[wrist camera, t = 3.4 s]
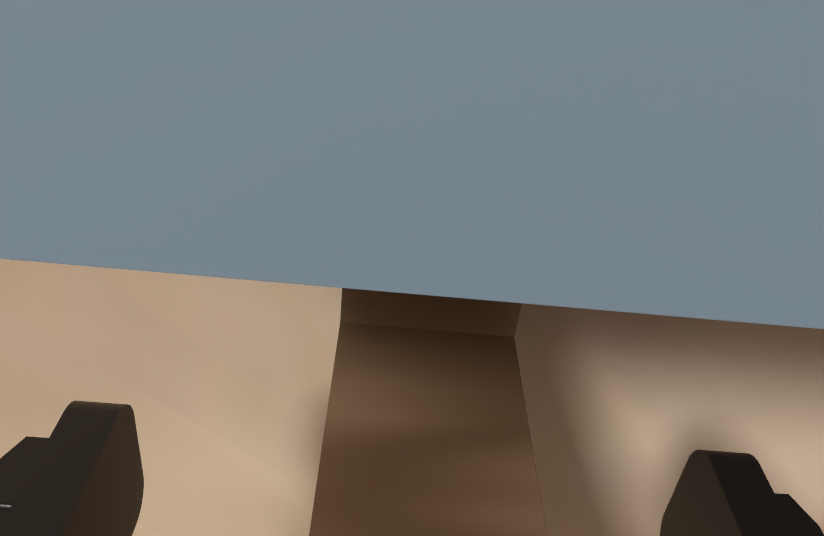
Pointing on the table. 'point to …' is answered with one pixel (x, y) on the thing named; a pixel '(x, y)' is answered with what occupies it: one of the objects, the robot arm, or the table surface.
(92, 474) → the robot arm
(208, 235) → the cubby
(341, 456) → the bent wooden plank
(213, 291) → the table surface
